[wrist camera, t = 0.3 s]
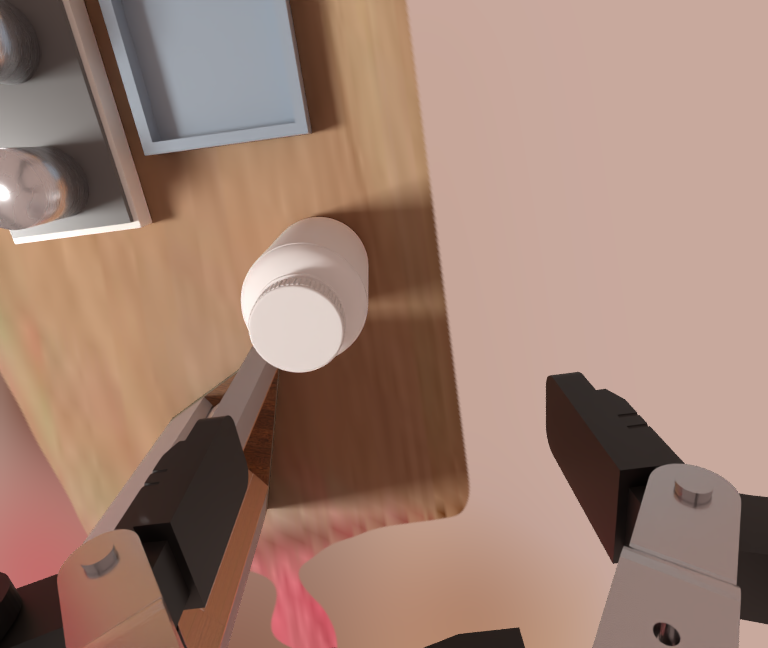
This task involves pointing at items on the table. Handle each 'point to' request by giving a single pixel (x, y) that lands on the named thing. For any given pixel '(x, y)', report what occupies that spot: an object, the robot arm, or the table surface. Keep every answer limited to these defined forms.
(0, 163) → the cylinder
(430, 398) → the table surface
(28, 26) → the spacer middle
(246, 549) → the cabinet
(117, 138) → the scale
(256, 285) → the pill bottle
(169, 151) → the tray
